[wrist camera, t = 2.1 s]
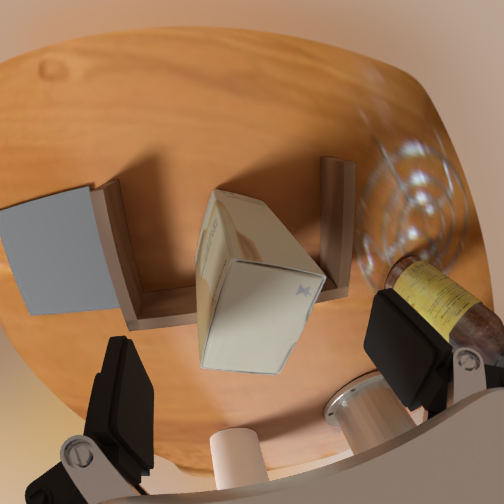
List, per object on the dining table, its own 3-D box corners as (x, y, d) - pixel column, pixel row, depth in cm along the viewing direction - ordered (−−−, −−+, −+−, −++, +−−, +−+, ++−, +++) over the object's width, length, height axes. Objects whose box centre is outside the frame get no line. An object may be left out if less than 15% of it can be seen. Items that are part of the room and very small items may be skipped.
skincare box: (211, 186, 21) (230, 248, 10) (265, 200, 22) (332, 269, 11) (192, 262, 23) (196, 372, 12) (242, 271, 25) (281, 378, 14)
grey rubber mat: (90, 185, 19) (88, 186, 19) (121, 305, 24) (120, 307, 23) (-4, 211, 17) (-6, 213, 17) (32, 313, 22) (30, 315, 22)
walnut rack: (331, 156, 22) (356, 162, 18) (328, 274, 26) (347, 296, 23) (107, 181, 19) (89, 192, 16) (136, 303, 24) (129, 331, 20)
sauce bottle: (372, 295, 29) (490, 430, 11) (400, 245, 27) (546, 360, 9) (405, 307, 31) (508, 417, 13) (431, 263, 29) (550, 360, 11)
